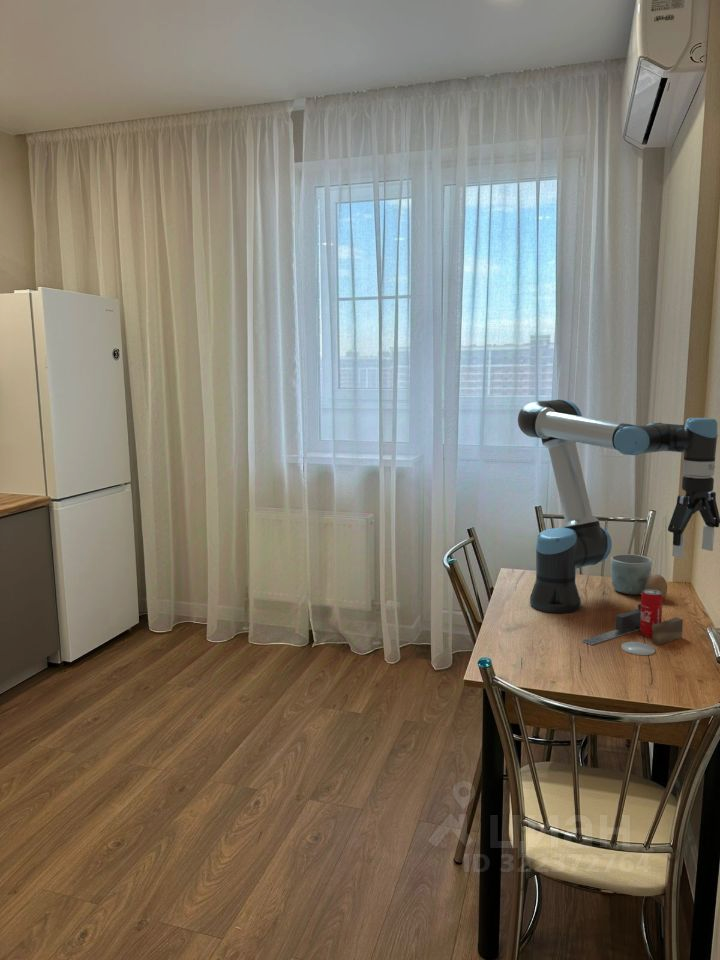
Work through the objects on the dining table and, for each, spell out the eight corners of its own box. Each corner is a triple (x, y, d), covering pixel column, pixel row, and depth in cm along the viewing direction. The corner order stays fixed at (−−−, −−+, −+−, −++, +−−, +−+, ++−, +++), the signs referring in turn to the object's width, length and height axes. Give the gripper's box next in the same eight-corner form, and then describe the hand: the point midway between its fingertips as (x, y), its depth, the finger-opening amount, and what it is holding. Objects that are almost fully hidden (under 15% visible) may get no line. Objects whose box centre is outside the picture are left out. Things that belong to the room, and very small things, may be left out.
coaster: (614, 647, 172) (614, 646, 171) (634, 641, 176) (634, 639, 176) (642, 657, 165) (642, 656, 165) (661, 650, 169) (662, 649, 169)
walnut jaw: (652, 643, 174) (652, 624, 173) (675, 635, 179) (675, 617, 179) (659, 645, 172) (659, 627, 172) (682, 637, 178) (682, 619, 177)
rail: (581, 641, 176) (581, 640, 176) (641, 622, 189) (641, 621, 189) (591, 645, 173) (591, 644, 173) (651, 625, 186) (651, 624, 186)
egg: (671, 600, 208) (672, 575, 207) (657, 603, 205) (658, 577, 204) (654, 595, 214) (655, 570, 213) (640, 598, 211) (641, 572, 210)
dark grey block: (614, 629, 183) (615, 611, 182) (642, 620, 189) (642, 602, 188) (622, 632, 180) (623, 613, 180) (650, 623, 187) (651, 605, 186)
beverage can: (662, 638, 177) (664, 595, 175) (642, 637, 178) (643, 594, 176) (658, 631, 182) (660, 589, 180) (638, 630, 183) (639, 588, 181)
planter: (603, 586, 224) (604, 555, 222) (638, 584, 225) (639, 553, 224) (621, 597, 212) (622, 564, 210) (658, 595, 213) (659, 562, 211)
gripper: (683, 482, 168) (677, 563, 171) (738, 473, 181) (732, 549, 184) (656, 478, 174) (651, 556, 177) (711, 470, 187) (706, 544, 190)
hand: (692, 553), depth 181 cm, fingers open, 13 cm apart
